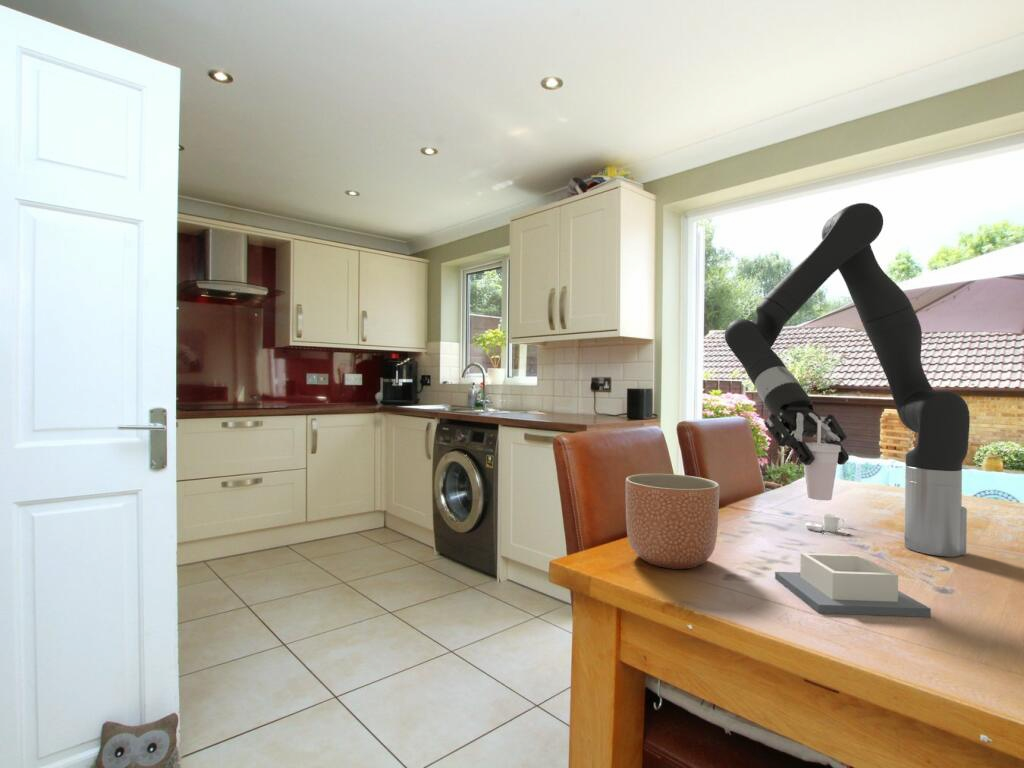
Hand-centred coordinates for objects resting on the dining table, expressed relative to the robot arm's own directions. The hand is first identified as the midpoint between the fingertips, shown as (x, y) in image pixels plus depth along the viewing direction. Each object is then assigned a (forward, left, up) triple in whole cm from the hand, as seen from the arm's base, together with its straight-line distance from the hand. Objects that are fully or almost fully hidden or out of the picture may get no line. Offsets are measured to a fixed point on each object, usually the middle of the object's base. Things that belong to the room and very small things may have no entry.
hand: (827, 462), depth 94 cm
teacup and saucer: (-17, -34, -21) cm, 44 cm away
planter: (+26, -6, -20) cm, 33 cm away
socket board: (+2, +9, -20) cm, 22 cm away
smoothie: (0, -2, -7) cm, 7 cm away
